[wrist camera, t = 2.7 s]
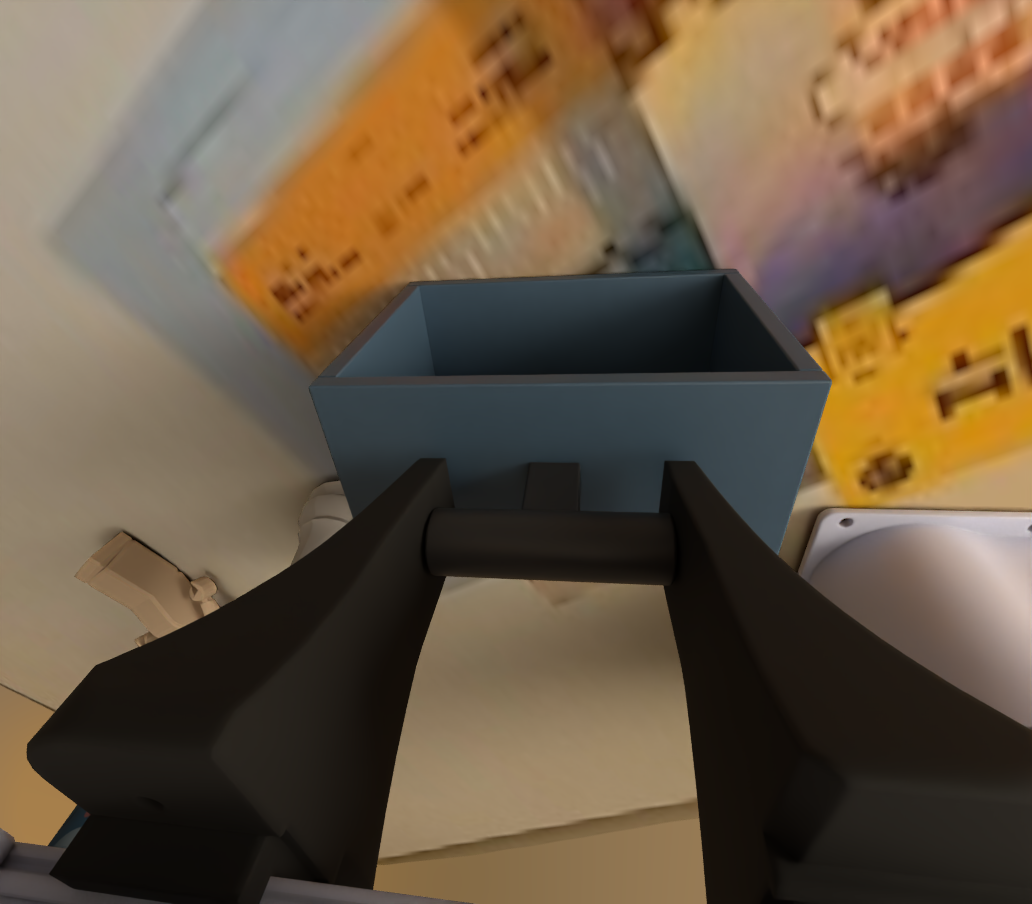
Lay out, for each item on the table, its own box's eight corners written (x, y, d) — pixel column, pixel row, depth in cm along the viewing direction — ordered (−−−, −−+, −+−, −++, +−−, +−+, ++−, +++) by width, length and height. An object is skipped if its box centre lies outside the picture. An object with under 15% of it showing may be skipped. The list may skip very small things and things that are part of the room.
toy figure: (93, 572, 31) (294, 697, 36) (-6, 656, 26) (246, 792, 30) (146, 508, 28) (356, 652, 33) (47, 587, 23) (316, 747, 27)
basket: (709, 426, 20) (736, 268, 16) (808, 693, 11) (911, 470, 7) (436, 426, 21) (409, 281, 18) (327, 660, 12) (232, 462, 9)
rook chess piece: (292, 488, 25) (186, 629, 18) (366, 463, 23) (279, 606, 17) (346, 551, 27) (268, 696, 20) (416, 531, 25) (357, 681, 19)
